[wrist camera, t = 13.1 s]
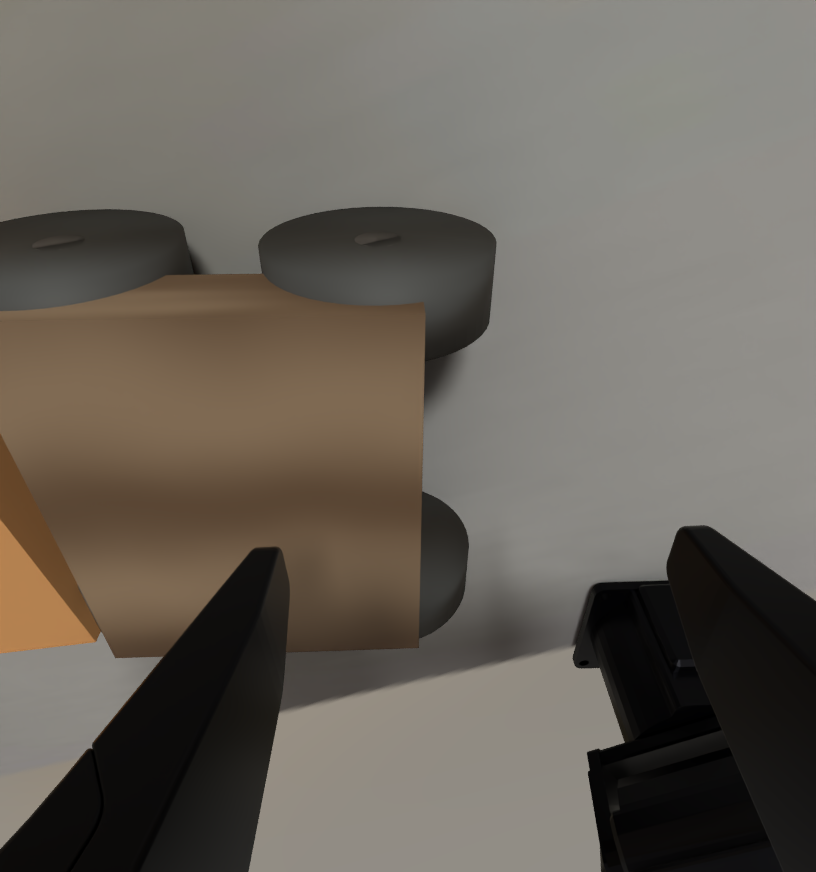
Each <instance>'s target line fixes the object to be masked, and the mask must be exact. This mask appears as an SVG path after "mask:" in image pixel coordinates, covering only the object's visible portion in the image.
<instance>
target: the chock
mask: <svg viewBox="0 0 816 872" xmlns="http://www.w3.org/2000/svg"><path fill="white" fill-rule="evenodd" d="M100 632H101V630H100V629H99V627H98V625H97V623H96V621H95V619H94V617H93V616H92V614H91V612H90V610H89V608H88V606H87V604H86V602H85V600H84V598H83V596H82V594H81V592H80V590H79V588H78V585H77V582H76V580H75V578H74V576H73V574H72V572H71V570H70V569H69V567H68V565H67V563H66V561H65V559H64V557H63V555H62V553H61V551H60V549H59V547H58V545H57V543H56V541H55V539H54V537H53V535H52V533H51V531H50V530H49V528H48V526H47V524H46V522H45V520H44V518H43V516H42V514H41V512H40V510H39V508H38V506H37V504H36V502H35V500H34V498H33V496H32V494H31V492H30V491H29V489H28V487H27V485H26V483H25V481H24V479H23V477H22V475H21V473H20V471H19V469H18V467H17V465H16V463H15V461H14V459H13V457H12V455H11V453H10V452H9V450H8V448H7V446H6V444H5V442H4V440H3V438H2V436H1V434H0V653H7V652H16V651H24V650H33V649H41V648H49V647H58V646H66V645H75V644H83V643H92V642H96V641H97V638H98V636H99V634H100Z"/></svg>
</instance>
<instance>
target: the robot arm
mask: <svg viewBox="0 0 816 872" xmlns="http://www.w3.org/2000/svg"><path fill="white" fill-rule="evenodd" d="M666 568H667V576H668V580H669V581H655V582H622V583H601V584H598V585H596V586H595V587H594V588H593V589H592V592H591V596H590V599H589V602H588V606H587V609H586V613H585V616H584V620H583V623H582V626H581V630H580V633H579V637H578V640H577V644H576V647H575V651H574V654H573V661H574V664H575V666H576V667H577V668H600V669H601V672H602V676H603V678H604V682H605V685H606V687H607V691H608V694H609V696H610V699H611V702H612V706H613V708H614V712H615V715H616V718H617V720H618V723H619V726H620V729H621V732H622V735H623V738H624V741H625V743H623V744H619V745H616V746H614V747H610V748H606V749H603V750H600V749H595V750H592V751H589V752H587V756H588V762H589V768H590V771H588V776H589V782H590V789H591V794H592V800H593V806H594V812H595V818H596V824H597V830H598V836H599V842H600V856H601V872H816V601H815V600H814V599H812V598H811V597H810V596H808V595H807V594H805V593H804V592H802V591H801V590H800V589H798V588H797V587H795V586H794V585H792V584H791V583H790V582H788V581H787V580H785V579H784V578H783V577H781V576H780V575H778V574H777V573H775V572H774V571H773V570H771V569H770V568H768V567H767V566H765V565H764V564H763V563H761V562H760V561H758V560H757V559H756V558H754V557H753V556H751V555H750V554H748V553H747V552H746V551H744V550H743V549H741V548H740V547H738V546H737V545H736V544H734V543H733V542H731V541H730V540H729V539H727V538H726V537H724V536H723V535H721V534H720V533H719V532H717V531H716V530H714V529H713V528H711V527H709V526H705V525H700V526H684V527H681V528H680V529H679V530H678V531H677V533H676V536H675V539H674V542H673V545H672V548H671V551H670V554H669V557H668V560H667V567H666ZM289 603H290V583H289V578H288V573H287V569H286V565H285V560H284V556H283V552H282V550H281V548H279V547H277V546H271V547H256V548H254V549H252V550H251V551H250V552H249V553H248V555H247V556H246V557H245V558H244V559H243V561H242V562H241V563H240V564H239V566H238V567H237V568H236V569H235V570H234V572H233V573H232V574H231V575H230V577H229V578H228V579H227V580H226V581H225V583H224V584H223V585H222V586H221V587H220V589H219V590H218V591H217V592H216V594H215V595H214V596H213V597H212V598H211V600H210V601H209V602H208V603H207V604H206V606H205V607H204V608H203V609H202V611H201V612H200V613H199V614H198V615H197V617H196V618H195V619H194V620H193V622H192V623H191V624H190V625H189V626H188V628H187V629H186V630H185V631H184V632H183V634H182V635H181V636H180V637H179V639H178V640H177V641H176V642H175V643H174V645H173V646H172V647H171V648H170V649H169V651H168V652H167V653H166V654H165V656H164V657H163V658H162V659H161V660H160V662H159V663H158V664H157V665H156V667H155V668H154V669H153V670H152V671H151V673H150V674H149V675H148V676H147V677H146V679H145V680H144V681H143V682H142V684H141V685H140V686H139V687H138V688H137V690H136V691H135V692H134V693H133V694H132V696H131V697H130V698H129V699H128V701H127V702H126V703H125V704H124V705H123V707H122V708H121V709H120V710H119V712H118V713H117V714H116V715H115V716H114V718H113V719H112V720H111V721H110V722H109V724H108V725H107V726H106V727H105V729H104V730H103V731H102V732H101V733H100V735H99V736H98V737H97V738H96V739H95V741H94V742H93V744H92V748H93V749H87V750H86V751H85V753H84V754H83V755H82V756H81V757H80V759H79V760H78V761H77V762H76V763H75V765H74V766H73V767H72V768H71V770H70V771H69V772H68V773H67V775H66V776H65V777H64V778H63V779H62V780H61V782H60V783H59V784H58V785H57V786H56V787H55V788H54V790H53V791H52V792H51V793H50V794H49V795H48V797H47V798H46V799H45V800H44V801H43V803H42V804H41V805H40V806H39V807H38V808H37V810H36V811H35V812H34V813H33V814H32V815H31V817H30V818H29V819H28V820H27V821H26V822H25V823H24V824H23V825H22V826H21V827H20V828H19V830H18V831H17V832H16V833H15V834H14V835H13V836H12V837H11V838H10V839H9V840H8V842H7V843H6V844H5V845H4V846H3V847H2V848H1V849H0V872H248V871H249V866H250V861H251V854H252V850H253V845H254V840H255V834H256V829H257V824H258V819H259V814H260V808H261V803H262V798H263V793H264V787H265V782H266V777H267V771H268V767H269V761H270V756H271V751H272V745H273V740H274V735H275V730H276V725H277V720H278V714H279V709H280V704H281V697H282V691H283V681H284V671H285V658H286V644H287V630H288V617H289Z"/></svg>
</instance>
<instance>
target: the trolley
mask: <svg viewBox="0 0 816 872" xmlns="http://www.w3.org/2000/svg"><path fill="white" fill-rule="evenodd" d="M258 248H259V256H260V262H261V269H262V274H213V275H194V273H193V268H192V264H191V259H190V255H189V250H188V246H187V242H186V237H185V233H184V228H183V226H182V225H181V224H180V223H179V222H177V221H176V220H174V219H172V218H170V217H167V216H164V215H160V214H155V213H150V212H144V211H134V210H111V209H103V210H79V211H67V212H57V213H49V214H42V215H35V216H29V217H23V218H18V219H13V220H8V221H3V222H0V434H1V436H2V438H3V440H4V442H5V444H6V446H7V448H8V450H9V452H10V453H11V455H12V457H13V459H14V461H15V463H16V465H17V467H18V469H19V471H20V473H21V475H22V477H23V479H24V481H25V483H26V485H27V487H28V489H29V491H30V492H31V494H32V496H33V498H34V500H35V502H36V504H37V506H38V508H39V510H40V512H41V514H42V516H43V518H44V520H45V522H46V524H47V526H48V528H49V530H50V531H51V533H52V535H53V537H54V539H55V541H56V543H57V545H58V547H59V549H60V551H61V553H62V555H63V557H64V559H65V561H66V563H67V565H68V567H69V569H70V570H71V572H72V574H73V576H74V578H75V580H76V582H77V585H78V588H79V590H80V592H81V594H82V596H83V598H84V600H85V602H86V604H87V606H88V608H89V610H90V612H91V614H92V616H93V617H94V619H95V621H96V623H97V625H98V627H99V629H100V630H101V632H102V633H103V635H104V637H105V639H106V641H107V643H108V645H109V647H110V649H111V650H112V652H113V654H114V656H115V658H132V657H162V656H165V654H166V653H167V652H168V651H169V649H170V648H171V647H172V646H173V645H174V643H175V642H176V641H177V640H178V639H179V637H180V636H181V635H182V634H183V632H184V631H185V630H186V629H187V628H188V626H189V625H190V624H191V623H192V622H193V620H194V619H195V618H196V617H197V615H198V614H199V613H200V612H201V611H202V609H203V608H204V607H205V606H206V604H207V603H208V602H209V601H210V600H211V598H212V597H213V596H214V595H215V594H216V592H217V591H218V590H219V589H220V587H221V586H222V585H223V584H224V583H225V581H226V580H227V579H228V578H229V577H230V575H231V574H232V573H233V572H234V570H235V569H236V568H237V567H238V566H239V564H240V563H241V562H242V561H243V559H244V558H245V557H246V556H247V555H248V553H249V552H250V551H251V550H252V549H254V548H256V547H271V546H277V547H279V548H281V550H282V552H283V556H284V560H285V565H286V569H287V573H288V578H289V583H290V603H289V617H288V630H287V644H286V652H311V651H341V650H370V649H400V648H419V638H422V637H424V636H426V635H428V634H430V633H432V632H434V631H435V630H437V629H438V628H440V627H441V626H442V625H444V624H445V623H446V622H447V621H448V620H449V619H450V618H451V617H452V616H453V614H454V613H455V612H456V610H457V608H458V607H459V605H460V603H461V601H462V598H463V595H464V591H465V582H466V571H467V560H468V549H469V543H468V536H467V532H466V529H465V527H464V524H463V523H462V521H461V519H460V518H459V516H458V515H457V514H456V513H455V512H454V511H453V510H452V509H451V508H450V507H449V506H448V505H447V504H445V503H444V502H442V501H441V500H439V499H437V498H436V497H434V496H432V495H429V494H427V493H424V492H422V461H423V413H424V365H425V361H427V360H431V359H435V358H439V357H443V356H445V355H448V354H451V353H454V352H456V351H458V350H460V349H462V348H465V347H467V346H468V345H470V344H471V343H473V342H474V341H476V340H477V339H478V338H479V337H480V336H481V335H482V334H483V333H484V331H485V330H486V329H487V326H488V324H489V319H490V308H491V297H492V286H493V275H494V264H495V253H496V239H495V237H494V236H493V234H492V233H491V232H490V231H489V230H488V229H486V228H485V227H483V226H481V225H480V224H478V223H476V222H473V221H471V220H468V219H465V218H463V217H459V216H456V215H452V214H447V213H443V212H437V211H431V210H424V209H415V208H402V207H362V208H348V209H339V210H332V211H325V212H320V213H314V214H310V215H306V216H302V217H299V218H295V219H292V220H290V221H287V222H284V223H282V224H280V225H278V226H276V227H274V228H273V229H271V230H269V231H268V232H267V233H266V234H265V235H263V237H262V238H261V239H260V241H259V245H258Z"/></svg>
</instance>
